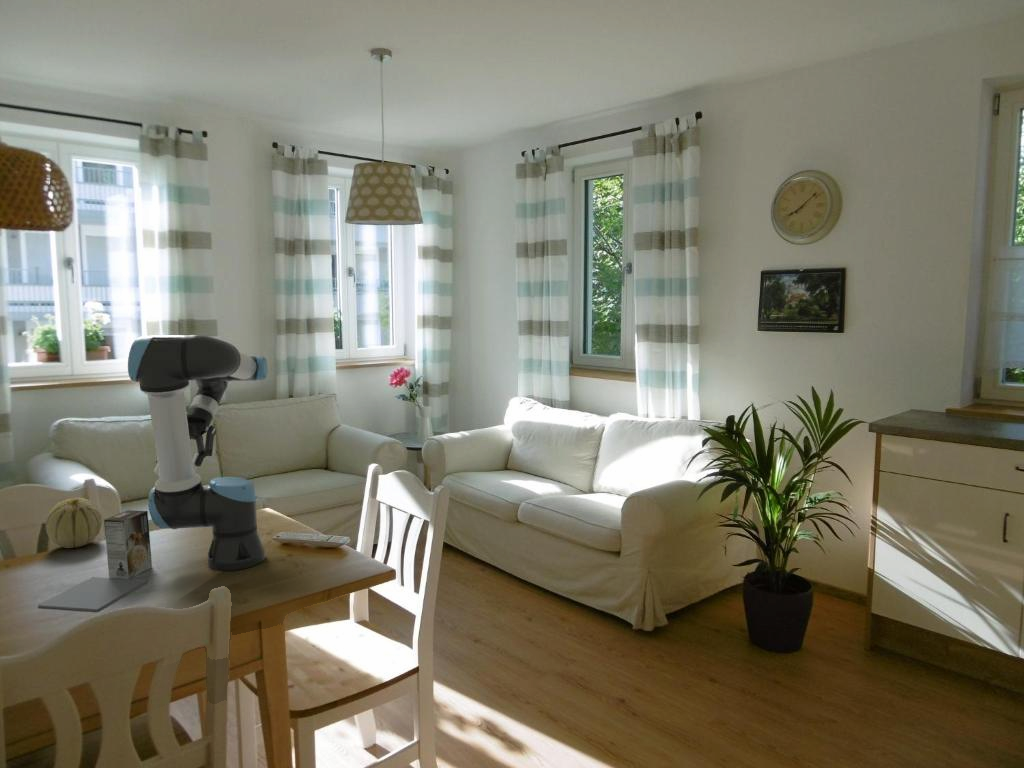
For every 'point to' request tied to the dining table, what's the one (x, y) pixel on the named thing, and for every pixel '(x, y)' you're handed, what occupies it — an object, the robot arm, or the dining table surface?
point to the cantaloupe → (73, 522)
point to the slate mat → (93, 594)
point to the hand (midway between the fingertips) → (173, 474)
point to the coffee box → (128, 544)
